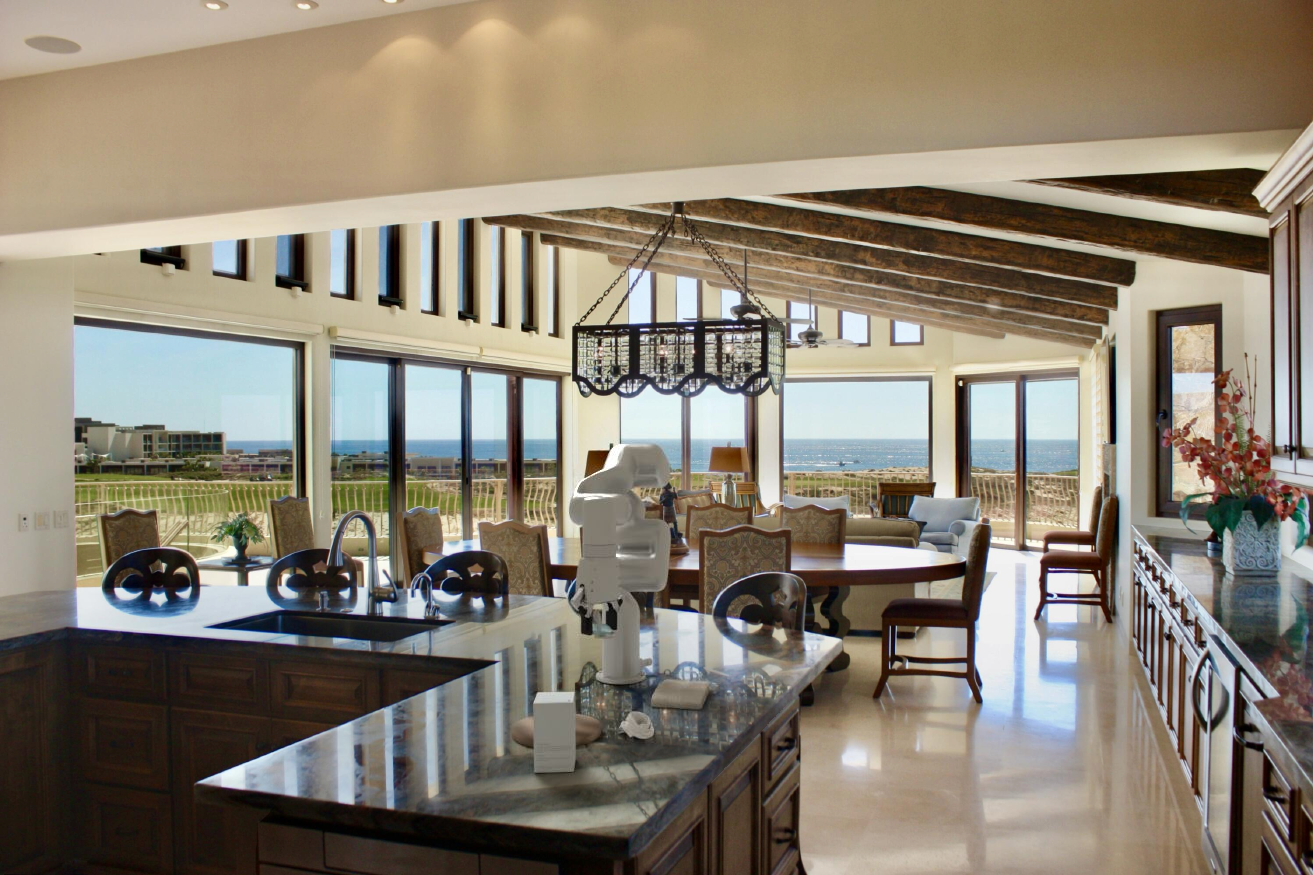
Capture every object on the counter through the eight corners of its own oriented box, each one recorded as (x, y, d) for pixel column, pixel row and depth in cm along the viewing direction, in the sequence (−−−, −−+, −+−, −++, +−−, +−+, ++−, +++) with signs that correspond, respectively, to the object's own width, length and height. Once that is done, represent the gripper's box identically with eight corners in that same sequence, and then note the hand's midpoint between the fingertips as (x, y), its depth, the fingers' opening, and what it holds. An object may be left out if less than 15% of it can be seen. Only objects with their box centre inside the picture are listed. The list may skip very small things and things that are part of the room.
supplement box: (576, 758, 165) (576, 690, 165) (574, 772, 157) (574, 702, 158) (536, 758, 165) (537, 691, 165) (532, 773, 157) (532, 702, 157)
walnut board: (562, 714, 192) (562, 707, 192) (619, 733, 180) (619, 725, 180) (494, 733, 179) (494, 726, 179) (550, 754, 167) (550, 746, 167)
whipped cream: (638, 731, 184) (637, 707, 185) (663, 734, 180) (662, 710, 181) (612, 738, 178) (611, 713, 179) (637, 741, 174) (637, 716, 174)
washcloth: (711, 690, 213) (711, 678, 213) (702, 712, 196) (702, 698, 196) (663, 688, 215) (663, 675, 215) (650, 709, 198) (650, 695, 198)
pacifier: (618, 634, 200) (592, 633, 200) (619, 606, 200) (593, 605, 200) (614, 641, 192) (587, 640, 193) (615, 613, 192) (588, 611, 193)
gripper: (616, 547, 205) (616, 623, 205) (558, 553, 193) (558, 635, 193) (638, 549, 200) (638, 628, 200) (580, 556, 187) (580, 640, 187)
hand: (599, 631), depth 196 cm, fingers closed on pacifier, 6 cm apart
